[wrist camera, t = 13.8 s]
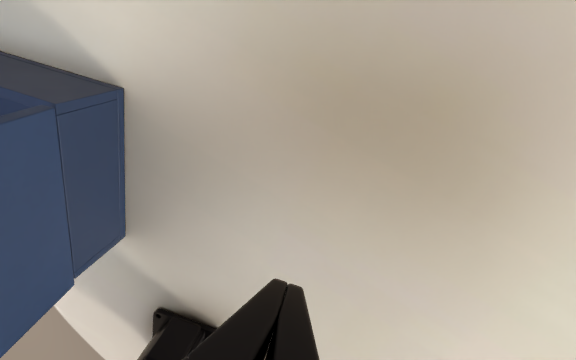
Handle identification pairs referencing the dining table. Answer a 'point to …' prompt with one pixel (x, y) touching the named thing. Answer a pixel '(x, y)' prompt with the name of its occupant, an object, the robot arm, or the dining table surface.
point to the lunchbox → (78, 148)
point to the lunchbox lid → (31, 222)
